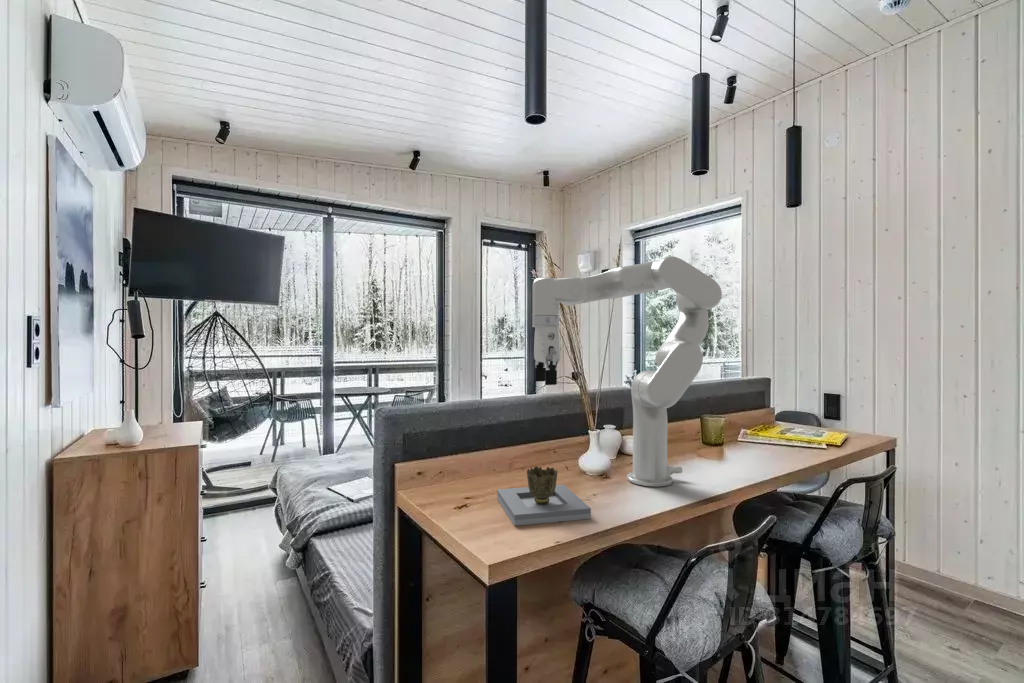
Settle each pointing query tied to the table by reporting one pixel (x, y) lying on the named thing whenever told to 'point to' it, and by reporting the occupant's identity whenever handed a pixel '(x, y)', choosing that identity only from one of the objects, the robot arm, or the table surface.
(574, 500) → the display stand
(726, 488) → the table surface
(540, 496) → the cup
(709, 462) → the table surface
